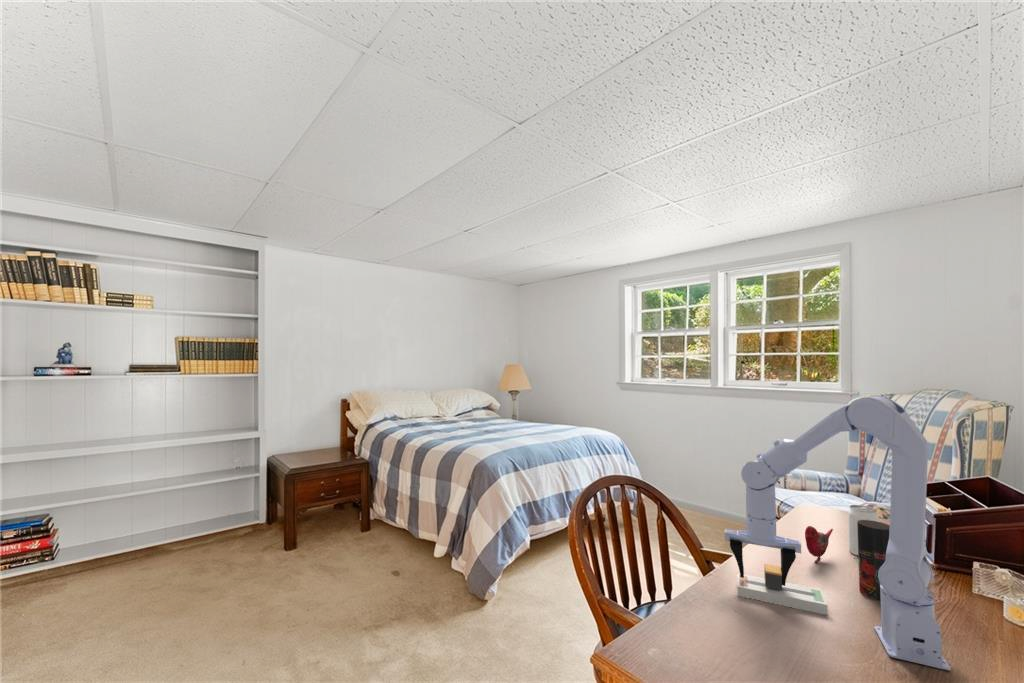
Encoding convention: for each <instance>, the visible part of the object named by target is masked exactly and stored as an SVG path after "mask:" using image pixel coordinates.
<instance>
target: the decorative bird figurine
mask: <svg viewBox="0 0 1024 683" xmlns="http://www.w3.org/2000/svg"><path fill="white" fill-rule="evenodd" d="M833 531H834V528H831V529H829V530H828V531H827V532H826V533H823V532H820V531H818V530H817V528H816V527H814V526H812V525H811V526H810V525H808V526H807V527H806V528H805V531H804V537H805V543H806V549H807V551H808V552H809V554H810V555H812V556H813V557H816V560H814V562H813V565H815V564H816V565H817V564H819V563H820V562H821V560H822V558H821V557H823V555H824V554H825V553H826V551H827V548H828V546H829V538H830V536H831V534H832V532H833Z"/></svg>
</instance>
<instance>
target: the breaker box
mask: <svg viewBox="0 0 1024 683" xmlns="http://www.w3.org/2000/svg"><path fill="white" fill-rule="evenodd" d="M736 575H737V586H736V587H737V590H736V591H737V597H740V596H743V597H742V598H744V597H748V598H747V599H749V598H752V599H751V600H754V599H757V600H756V601H758V600H761V601H760V602H763V601H765V603H768V602H769V603H768V604H772V603H774V604H773V605H777V604H778V606H782V605H783V606H782V607H787V608H791V607H792V609H798V610H802V611H806V612H810V611H812V612H811V613H816V614H819V615H820V614H821V615H824V616H828V614H829V613H828V603H827V600H826V598H825V595H824V593H823V590H822V589H821V588H818V587H817V588H816V587H811V586H807V585H802V584H795V583H790V582H786V583H785V586H783V585H782V590H777V589H772V588H767V587H766V586H765V577H759V576H754V575H749V574H745V573H744V578H742V577H740V572H739V573H736Z"/></svg>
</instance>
